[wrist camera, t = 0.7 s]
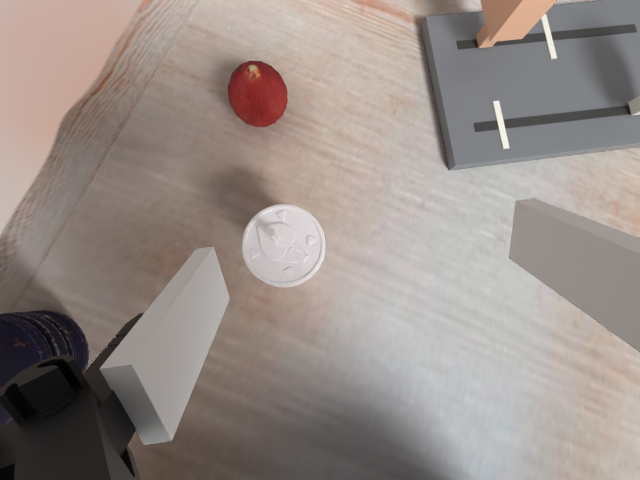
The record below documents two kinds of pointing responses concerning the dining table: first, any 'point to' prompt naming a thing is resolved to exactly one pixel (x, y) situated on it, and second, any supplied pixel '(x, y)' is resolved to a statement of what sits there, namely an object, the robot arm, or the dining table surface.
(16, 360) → the storage jar
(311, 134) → the dining table surface
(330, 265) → the dining table surface
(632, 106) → the block
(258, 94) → the onion
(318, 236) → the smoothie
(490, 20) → the fader
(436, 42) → the console
